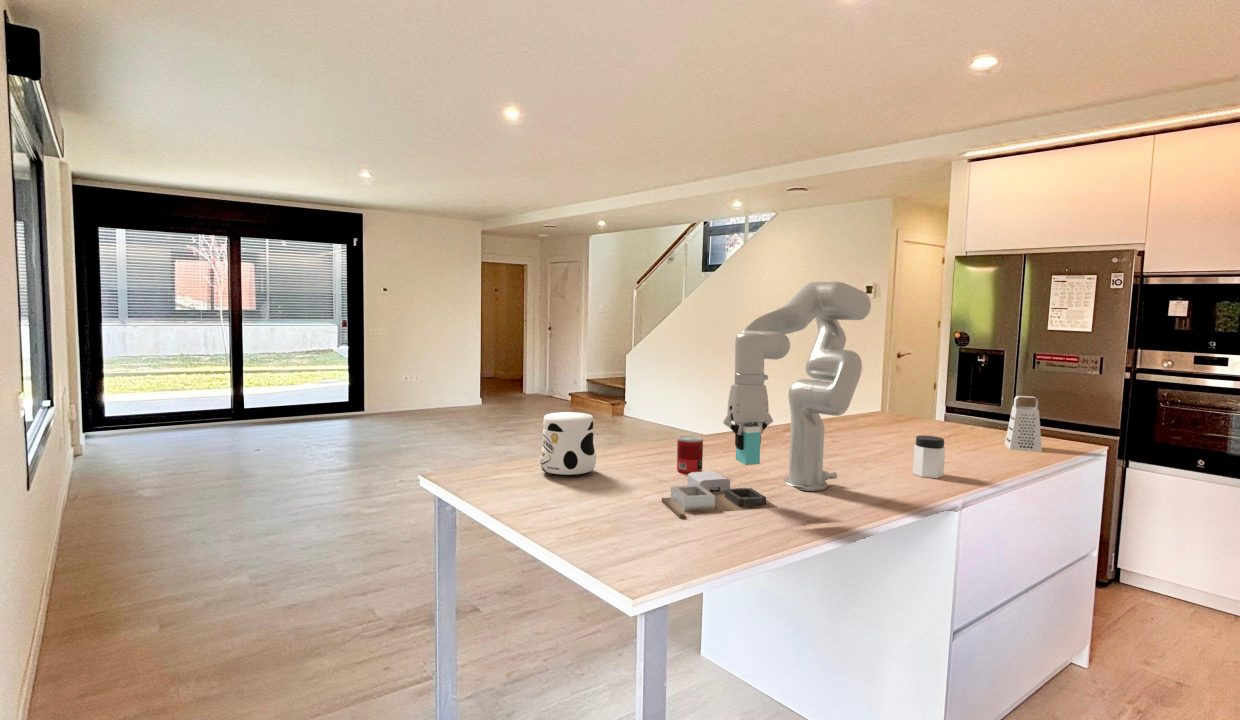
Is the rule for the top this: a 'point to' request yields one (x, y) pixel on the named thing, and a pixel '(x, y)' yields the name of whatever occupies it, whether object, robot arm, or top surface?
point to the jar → (929, 457)
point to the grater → (1024, 428)
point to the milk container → (568, 444)
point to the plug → (750, 445)
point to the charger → (709, 480)
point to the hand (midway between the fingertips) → (747, 447)
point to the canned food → (689, 454)
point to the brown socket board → (727, 502)
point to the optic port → (692, 498)
